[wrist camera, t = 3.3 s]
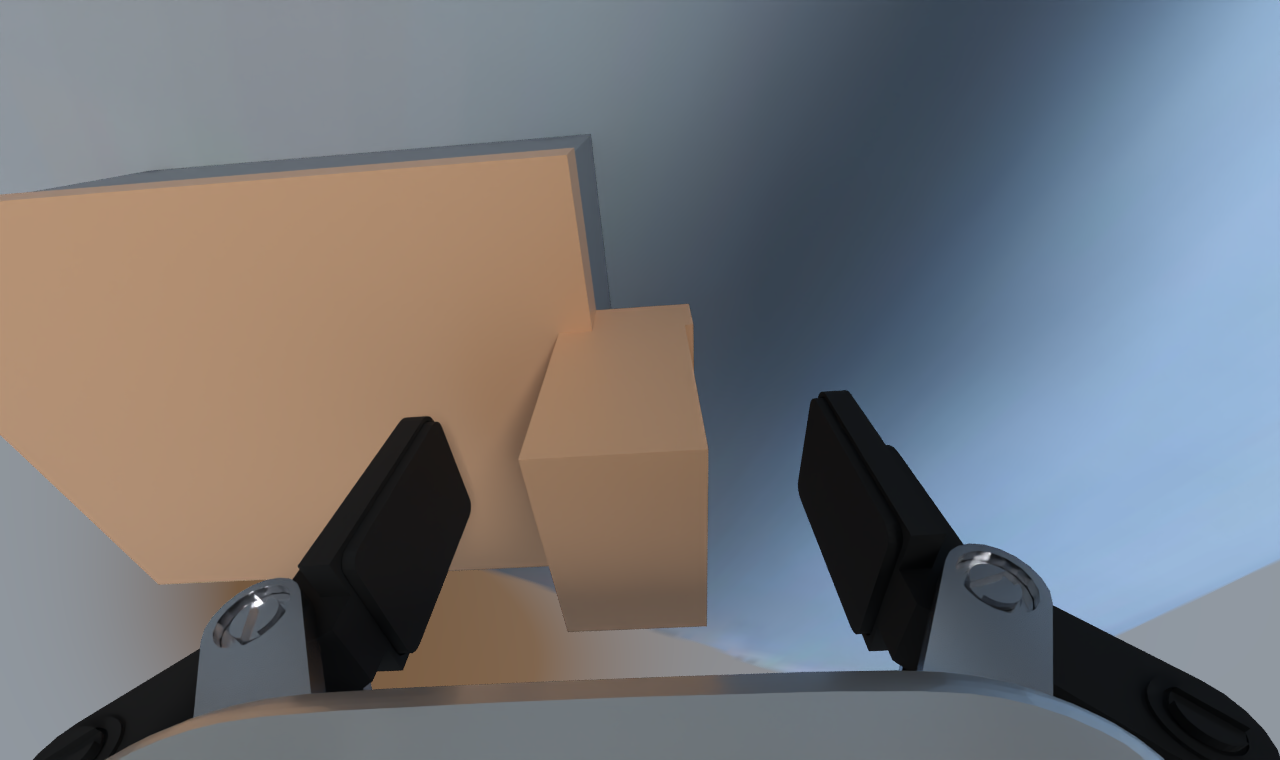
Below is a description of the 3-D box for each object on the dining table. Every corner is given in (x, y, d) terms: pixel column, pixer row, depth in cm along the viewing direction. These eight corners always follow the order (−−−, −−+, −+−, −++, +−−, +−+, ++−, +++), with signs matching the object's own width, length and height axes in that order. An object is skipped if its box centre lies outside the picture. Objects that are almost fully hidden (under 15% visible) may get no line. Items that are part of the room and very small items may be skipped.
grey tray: (590, 134, 16) (562, 164, 10) (622, 411, 22) (617, 528, 17) (149, 170, 17) (-120, 219, 11) (304, 430, 23) (189, 549, 17)
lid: (681, 133, 11) (729, 188, 5) (689, 504, 18) (713, 707, 12) (-77, 196, 12) (-777, 305, 6) (211, 529, 18) (18, 730, 13)
